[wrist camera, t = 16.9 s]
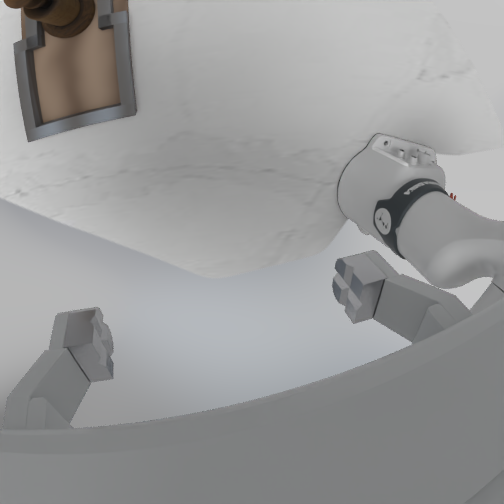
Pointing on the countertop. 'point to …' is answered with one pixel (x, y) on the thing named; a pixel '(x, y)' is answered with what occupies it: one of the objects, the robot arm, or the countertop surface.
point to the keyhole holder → (75, 73)
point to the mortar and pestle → (58, 14)
